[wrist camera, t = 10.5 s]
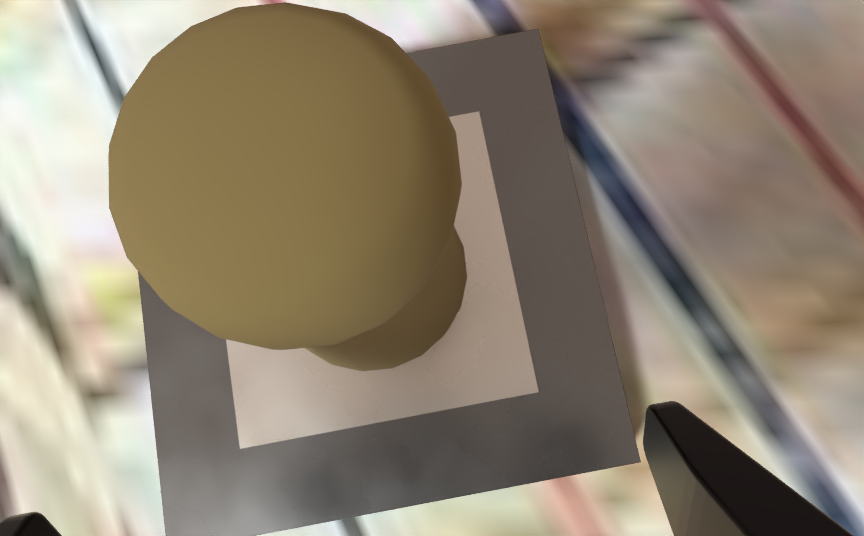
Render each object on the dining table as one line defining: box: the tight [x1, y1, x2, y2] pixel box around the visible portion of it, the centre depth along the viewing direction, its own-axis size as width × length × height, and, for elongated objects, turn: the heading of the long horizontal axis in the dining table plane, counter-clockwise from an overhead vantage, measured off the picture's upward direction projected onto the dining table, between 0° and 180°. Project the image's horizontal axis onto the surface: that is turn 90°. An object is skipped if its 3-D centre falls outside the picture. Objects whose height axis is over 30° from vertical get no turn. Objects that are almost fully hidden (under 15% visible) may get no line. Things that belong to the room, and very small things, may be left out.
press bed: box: [138, 29, 641, 536], centre depth 19 cm, size 14×14×2 cm
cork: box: [109, 3, 467, 371], centre depth 13 cm, size 6×6×11 cm
